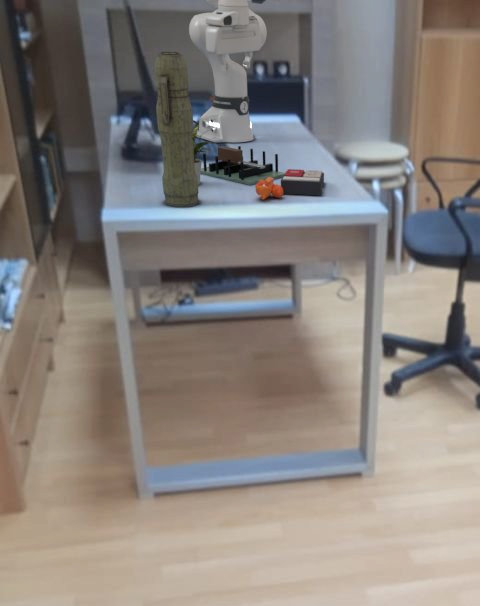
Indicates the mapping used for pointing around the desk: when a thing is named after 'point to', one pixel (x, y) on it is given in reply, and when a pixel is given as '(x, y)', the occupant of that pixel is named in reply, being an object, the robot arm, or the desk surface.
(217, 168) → the rack
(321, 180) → the calculator
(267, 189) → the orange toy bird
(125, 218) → the desk surface
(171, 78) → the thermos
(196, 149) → the house plant
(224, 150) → the knife
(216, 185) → the desk surface
